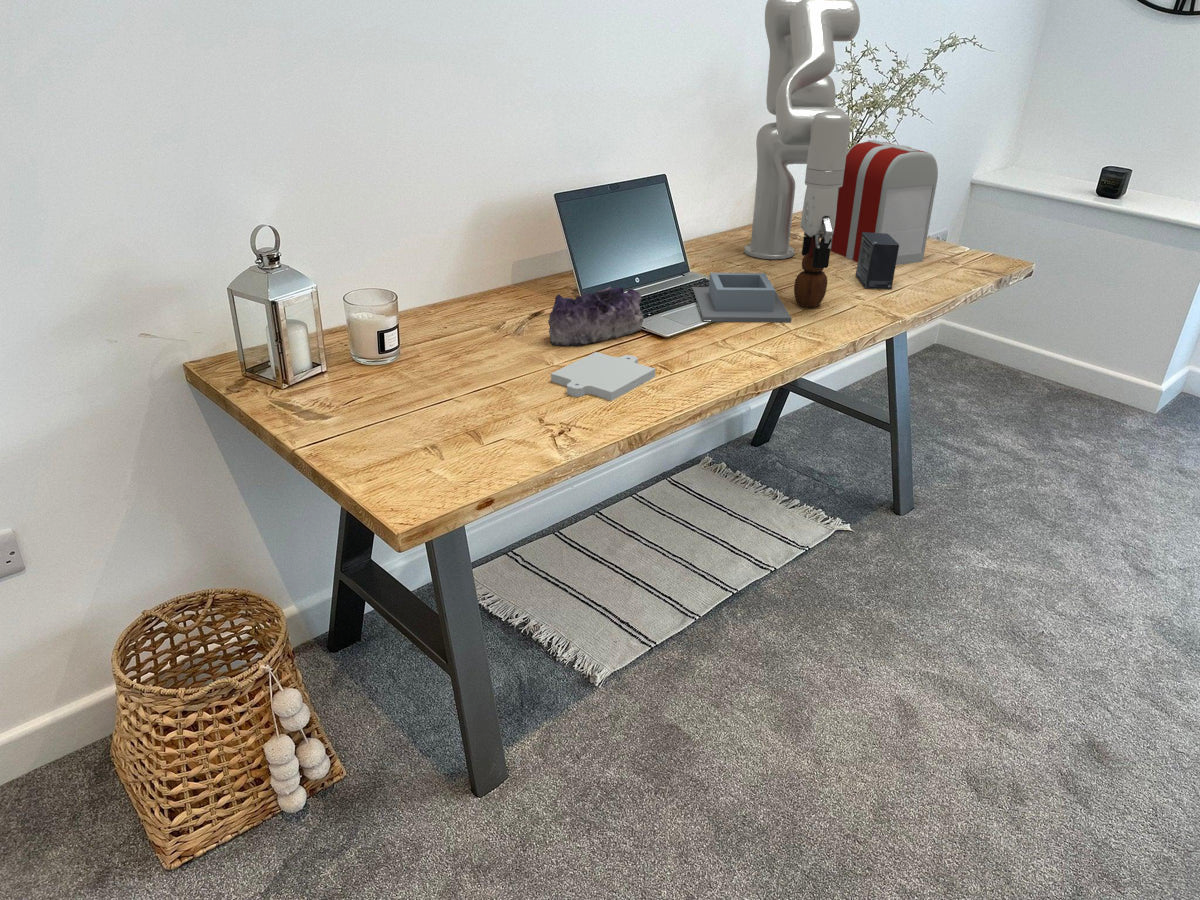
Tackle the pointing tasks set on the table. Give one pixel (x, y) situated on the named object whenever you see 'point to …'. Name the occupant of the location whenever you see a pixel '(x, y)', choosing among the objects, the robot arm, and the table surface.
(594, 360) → the mounting plate
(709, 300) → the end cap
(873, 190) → the red striped mailbox
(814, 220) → the robot arm
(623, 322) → the geode
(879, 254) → the small box
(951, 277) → the table surface
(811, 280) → the wooden figurine
